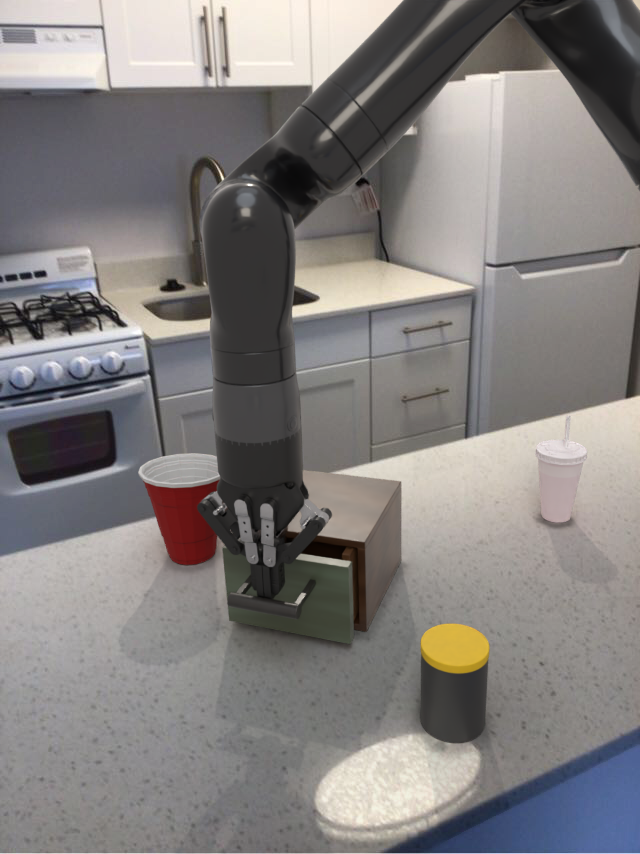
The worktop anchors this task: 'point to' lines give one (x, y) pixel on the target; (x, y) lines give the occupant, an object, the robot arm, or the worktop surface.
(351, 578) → the drawer
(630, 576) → the worktop surface
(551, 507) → the smoothie
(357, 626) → the cabinet
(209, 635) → the worktop surface
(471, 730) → the canister
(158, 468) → the plastic cup
